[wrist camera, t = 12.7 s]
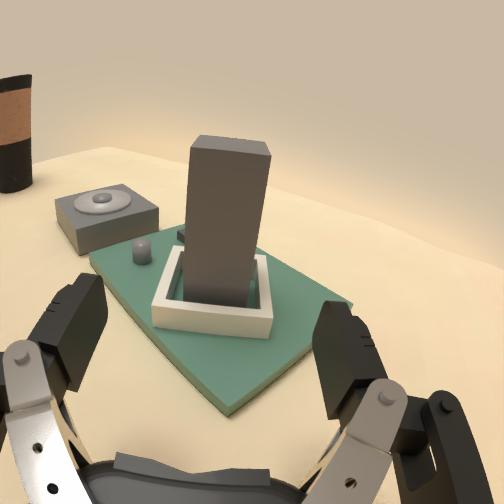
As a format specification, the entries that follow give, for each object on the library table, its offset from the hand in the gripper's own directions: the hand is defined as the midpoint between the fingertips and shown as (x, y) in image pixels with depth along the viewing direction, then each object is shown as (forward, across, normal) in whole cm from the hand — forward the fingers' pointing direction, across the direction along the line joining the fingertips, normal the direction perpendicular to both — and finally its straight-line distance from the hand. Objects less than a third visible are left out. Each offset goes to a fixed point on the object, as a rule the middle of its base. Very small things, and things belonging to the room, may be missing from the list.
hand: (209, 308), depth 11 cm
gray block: (+11, 0, +8) cm, 14 cm away
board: (+13, 0, +10) cm, 16 cm away
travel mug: (+35, +39, +10) cm, 54 cm away
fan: (+23, +14, +10) cm, 29 cm away
